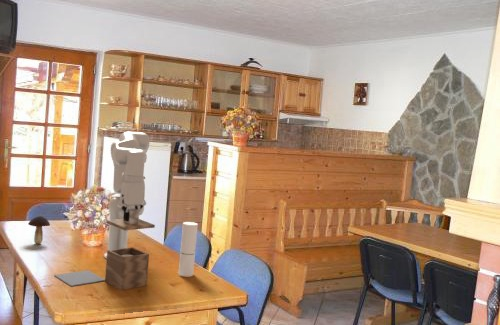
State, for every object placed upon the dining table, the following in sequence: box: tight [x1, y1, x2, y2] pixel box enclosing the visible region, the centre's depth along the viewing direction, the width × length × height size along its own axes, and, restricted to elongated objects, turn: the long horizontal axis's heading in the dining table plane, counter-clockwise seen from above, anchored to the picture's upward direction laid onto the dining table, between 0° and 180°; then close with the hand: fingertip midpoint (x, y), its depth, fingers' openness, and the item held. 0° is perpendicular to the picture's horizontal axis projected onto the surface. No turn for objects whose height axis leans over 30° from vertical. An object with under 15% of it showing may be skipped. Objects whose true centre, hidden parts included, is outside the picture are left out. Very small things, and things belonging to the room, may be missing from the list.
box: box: [104, 247, 150, 291], centre depth 226 cm, size 13×13×14 cm
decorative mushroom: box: [28, 216, 51, 245], centre depth 276 cm, size 11×11×15 cm
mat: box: [54, 269, 105, 288], centre depth 227 cm, size 16×16×1 cm
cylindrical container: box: [178, 221, 199, 278], centre depth 247 cm, size 7×7×25 cm
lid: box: [106, 208, 156, 231], centre depth 224 cm, size 15×15×7 cm
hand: (130, 219), depth 225 cm, fingers closed on lid, 4 cm apart
